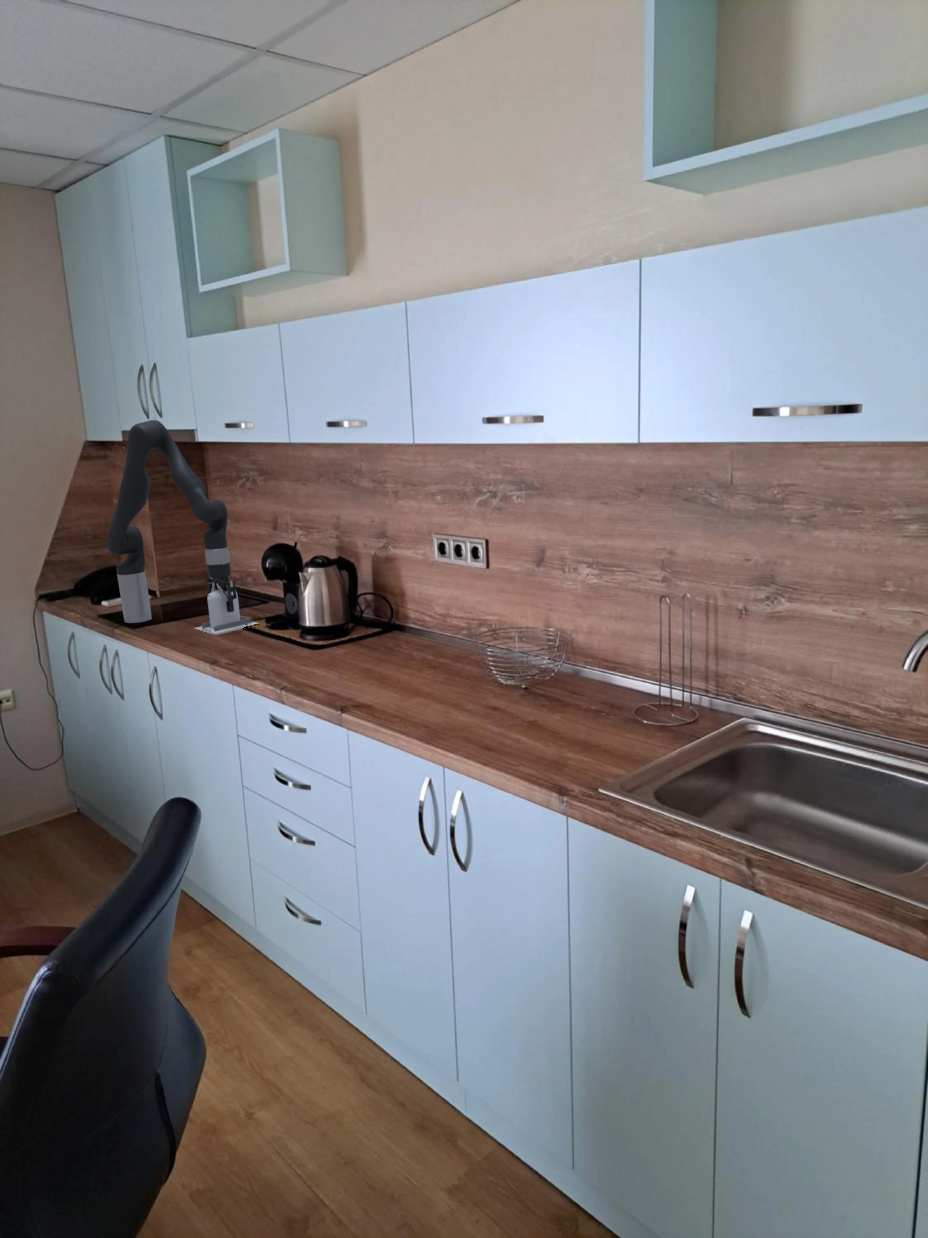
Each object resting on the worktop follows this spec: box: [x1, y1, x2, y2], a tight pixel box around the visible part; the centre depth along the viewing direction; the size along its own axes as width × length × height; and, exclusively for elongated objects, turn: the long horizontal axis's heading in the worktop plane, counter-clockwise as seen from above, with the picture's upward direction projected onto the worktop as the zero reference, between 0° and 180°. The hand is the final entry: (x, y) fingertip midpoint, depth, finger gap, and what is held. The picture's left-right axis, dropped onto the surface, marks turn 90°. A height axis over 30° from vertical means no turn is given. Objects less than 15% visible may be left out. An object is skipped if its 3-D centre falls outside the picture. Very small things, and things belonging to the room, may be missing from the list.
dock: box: [193, 615, 260, 636], centre depth 298 cm, size 14×16×2 cm
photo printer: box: [206, 590, 241, 628], centre depth 297 cm, size 10×4×12 cm, turn 134°
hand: (224, 610), depth 297 cm, fingers open, 8 cm apart
